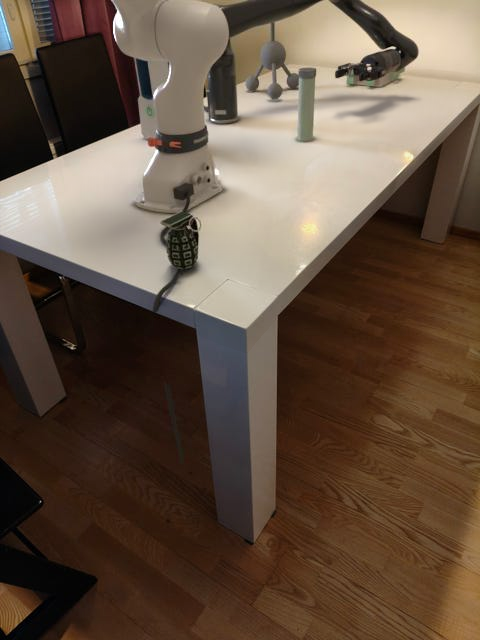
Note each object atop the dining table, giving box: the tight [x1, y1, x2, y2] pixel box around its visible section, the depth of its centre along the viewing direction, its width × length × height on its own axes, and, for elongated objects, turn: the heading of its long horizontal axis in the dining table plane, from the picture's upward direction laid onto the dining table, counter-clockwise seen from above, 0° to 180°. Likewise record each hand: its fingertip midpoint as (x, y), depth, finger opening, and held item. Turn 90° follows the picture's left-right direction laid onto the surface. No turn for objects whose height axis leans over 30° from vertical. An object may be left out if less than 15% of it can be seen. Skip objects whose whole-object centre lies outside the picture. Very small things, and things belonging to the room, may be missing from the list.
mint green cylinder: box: [297, 76, 316, 143], centre depth 140 cm, size 4×4×18 cm
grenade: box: [159, 211, 202, 271], centre depth 88 cm, size 7×6×10 cm
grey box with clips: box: [346, 62, 406, 88], centre depth 197 cm, size 26×6×20 cm
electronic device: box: [133, 57, 170, 140], centre depth 143 cm, size 12×8×30 cm, turn 47°
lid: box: [297, 67, 317, 78], centre depth 135 cm, size 5×5×2 cm
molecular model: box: [245, 22, 299, 100], centre depth 182 cm, size 24×22×30 cm
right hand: (347, 76), depth 149 cm, fingers open, 8 cm apart
